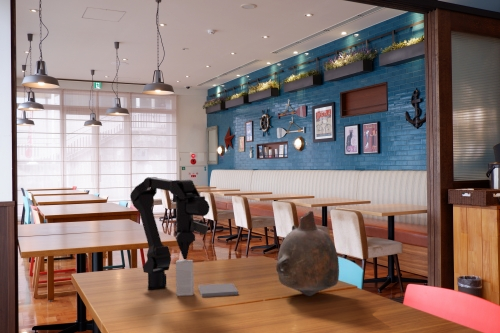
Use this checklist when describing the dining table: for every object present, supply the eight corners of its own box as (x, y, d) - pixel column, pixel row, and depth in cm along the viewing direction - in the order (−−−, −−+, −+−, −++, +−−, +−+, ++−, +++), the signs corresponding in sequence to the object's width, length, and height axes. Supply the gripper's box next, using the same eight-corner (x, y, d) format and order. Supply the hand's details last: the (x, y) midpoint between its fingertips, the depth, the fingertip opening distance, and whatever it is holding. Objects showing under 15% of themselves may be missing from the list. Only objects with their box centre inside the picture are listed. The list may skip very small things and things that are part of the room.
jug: (295, 285, 189) (294, 206, 189) (349, 291, 178) (348, 208, 178) (264, 300, 168) (263, 212, 168) (323, 308, 157) (322, 214, 157)
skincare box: (193, 292, 180) (193, 259, 180) (193, 295, 175) (192, 261, 175) (177, 293, 179) (176, 260, 179) (176, 296, 175) (175, 262, 175)
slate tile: (201, 297, 173) (201, 293, 173) (198, 288, 186) (198, 285, 186) (238, 294, 176) (238, 291, 176) (232, 286, 188) (232, 283, 188)
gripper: (209, 216, 170) (210, 261, 170) (203, 211, 188) (204, 252, 188) (176, 217, 168) (177, 263, 168) (174, 212, 186) (174, 254, 186)
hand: (184, 258), depth 177 cm, fingers open, 4 cm apart
